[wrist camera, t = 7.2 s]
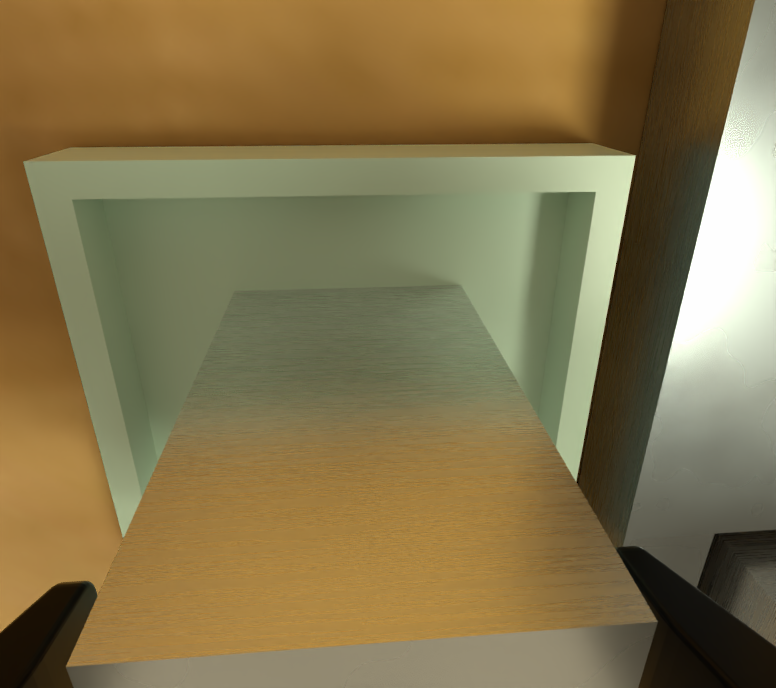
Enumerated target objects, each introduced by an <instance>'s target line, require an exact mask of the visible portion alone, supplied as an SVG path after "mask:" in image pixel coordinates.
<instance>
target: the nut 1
mask: <svg viewBox="0 0 776 688" xmlns="http://www.w3.org/2000/svg"><path fill="white" fill-rule="evenodd" d="M657 623H658V621H657V620H656V618H655V616H654V614H653V613H652V611H651V609H650V608H649V606H648V604H647V602H646V601H645V599H644V597H643V596H642V594H641V592H640V590H639V589H638V587H637V585H636V584H635V582H634V580H633V578H632V577H631V575H630V573H629V572H628V570H627V568H626V567H625V565H624V563H623V561H622V560H621V558H620V556H619V555H618V553H617V551H616V549H615V548H614V546H613V544H612V543H611V541H610V539H609V537H608V536H607V534H606V532H605V531H604V529H603V527H602V525H601V524H600V522H599V520H598V519H597V517H596V515H595V513H594V512H593V510H592V508H591V507H590V505H589V503H588V501H587V500H586V498H585V496H584V495H583V493H582V491H581V489H580V488H579V486H578V484H577V483H576V481H575V479H574V478H573V476H572V474H571V472H570V471H569V469H568V467H567V466H566V464H565V462H564V460H563V459H562V457H561V455H560V454H559V452H558V450H557V448H556V447H555V445H554V443H553V442H552V440H551V438H550V436H549V435H548V433H547V431H546V430H545V428H544V426H543V424H542V423H541V421H540V419H539V418H538V416H537V414H536V412H535V411H534V409H533V407H532V406H531V404H530V402H529V400H528V399H527V397H526V395H525V394H524V392H523V390H522V388H521V387H520V385H519V383H518V382H517V380H516V378H515V377H514V375H513V373H512V371H511V370H510V368H509V366H508V365H507V363H506V361H505V359H504V358H503V356H502V354H501V353H500V351H499V349H498V347H497V346H496V344H495V342H494V341H493V339H492V337H491V335H490V334H489V332H488V330H487V329H486V327H485V325H484V323H483V322H482V320H481V318H480V317H479V315H478V313H477V311H476V310H475V308H474V306H473V305H472V303H471V301H470V299H469V298H468V296H467V294H466V293H465V291H464V289H463V288H462V286H461V285H437V286H402V287H368V288H333V289H298V290H263V291H234V293H233V295H232V298H231V300H230V302H229V304H228V307H227V309H226V311H225V313H224V315H223V318H222V320H221V322H220V324H219V327H218V329H217V331H216V333H215V336H214V338H213V340H212V342H211V344H210V347H209V349H208V351H207V353H206V356H205V358H204V360H203V362H202V364H201V367H200V369H199V371H198V373H197V376H196V378H195V380H194V382H193V385H192V387H191V389H190V391H189V393H188V396H187V398H186V400H185V402H184V405H183V407H182V409H181V411H180V414H179V416H178V418H177V420H176V422H175V425H174V427H173V429H172V431H171V434H170V436H169V438H168V440H167V443H166V445H165V447H164V449H163V451H162V454H161V456H160V458H159V460H158V463H157V465H156V467H155V469H154V471H153V474H152V476H151V478H150V480H149V483H148V485H147V487H146V489H145V492H144V494H143V496H142V498H141V500H140V503H139V505H138V507H137V509H136V512H135V514H134V516H133V518H132V521H131V523H130V525H129V527H128V529H127V532H126V534H125V536H124V538H123V541H122V543H121V545H120V547H119V550H118V552H117V554H116V556H115V558H114V561H113V563H112V565H111V567H110V570H109V572H108V574H107V576H106V578H105V581H104V583H103V585H102V587H101V590H100V592H99V594H98V596H97V599H96V601H95V603H94V605H93V607H92V610H91V612H90V614H89V616H88V619H87V621H86V623H85V625H84V628H83V630H82V632H81V634H80V636H79V639H78V641H77V643H76V645H75V648H74V650H73V652H72V654H71V657H70V659H69V661H68V663H67V665H66V669H67V671H68V674H69V677H70V679H71V682H72V685H73V688H638V687H639V683H640V680H641V677H642V673H643V670H644V666H645V663H646V660H647V656H648V653H649V650H650V646H651V643H652V640H653V636H654V633H655V630H656V626H657Z"/></svg>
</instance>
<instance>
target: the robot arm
mask: <svg viewBox="0 0 776 688" xmlns="http://www.w3.org/2000/svg"><path fill="white" fill-rule="evenodd" d="M614 548H615V549H616V551H617V553H618V555H619V556H620V558H621V560H622V561H623V563H624V565H625V567H626V568H627V570H628V572H629V573H630V575H631V577H632V578H633V580H634V582H635V584H636V585H637V587H638V589H639V590H640V592H641V594H642V596H643V597H644V599H645V601H646V602H647V604H648V606H649V608H650V609H651V611H652V613H653V614H654V616H655V618H656V620H657V621H658V623H657V626H656V630H655V633H654V636H653V640H652V643H651V646H650V650H649V653H648V656H647V660H646V663H645V666H644V670H643V673H642V677H641V680H640V683H639V687H638V688H776V646H774V645H773V644H772V643H770V642H769V641H768V640H766V639H765V638H764V637H762V636H761V635H760V634H758V633H757V632H756V631H754V630H753V629H752V628H750V627H749V626H747V625H746V624H745V623H743V622H742V621H741V620H739V619H738V618H737V617H735V616H734V615H733V614H731V613H730V612H729V611H727V610H726V609H725V608H723V607H722V606H720V605H719V604H718V603H716V602H715V601H714V600H712V599H711V598H710V597H708V596H707V595H706V594H704V593H703V592H702V591H700V590H699V589H698V588H696V587H695V586H693V585H692V584H691V583H689V582H688V581H687V580H685V579H684V578H683V577H681V576H680V575H679V574H677V573H676V572H675V571H673V570H672V569H671V568H669V567H668V566H666V565H665V564H664V563H662V562H661V561H660V560H658V559H657V558H656V557H654V556H653V555H652V554H650V553H649V552H648V551H646V550H645V549H643V548H641V547H638V546H625V547H614ZM96 599H97V592H96V589H95V587H94V585H93V584H92V583H91V582H89V581H77V582H63V583H59V584H57V585H55V586H53V587H52V588H51V589H49V590H48V591H47V592H46V593H45V594H44V595H43V596H41V597H40V598H39V599H38V600H37V601H36V602H35V603H33V604H32V605H31V606H30V607H29V608H28V609H27V610H25V611H24V612H23V613H22V614H21V615H20V616H19V617H17V618H16V619H15V620H14V621H13V622H12V623H11V624H9V625H8V626H7V627H6V628H5V629H4V630H3V631H1V632H0V688H73V685H72V682H71V679H70V677H69V674H68V671H67V669H66V665H67V663H68V661H69V659H70V657H71V654H72V652H73V650H74V648H75V645H76V643H77V641H78V639H79V636H80V634H81V632H82V630H83V628H84V625H85V623H86V621H87V619H88V616H89V614H90V612H91V610H92V607H93V605H94V603H95V601H96Z"/></svg>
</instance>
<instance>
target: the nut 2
mask: <svg viewBox="0 0 776 688" xmlns="http://www.w3.org/2000/svg"><path fill="white" fill-rule="evenodd" d="M697 588H698V589H699V590H700V591H702V592H703V593H704V594H706V595H707V596H708V597H710V598H711V599H712V600H714V601H715V602H716V603H718V604H719V605H720V606H722V607H723V608H725V609H726V610H727V611H729V612H730V613H731V614H733V615H734V616H735V617H737V618H738V619H739V620H741V621H742V622H743V623H745V624H746V625H747V626H749V627H750V628H752V629H753V630H754V631H756V632H757V633H758V634H760V635H761V636H762V637H764V638H765V639H766V640H768V641H769V642H770V643H772V644H773V645H774V646H776V530H764V531H748V532H732V533H716V534H714V537H713V540H712V543H711V546H710V549H709V552H708V555H707V558H706V561H705V564H704V567H703V570H702V573H701V576H700V579H699V582H698V585H697Z"/></svg>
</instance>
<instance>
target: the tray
mask: <svg viewBox="0 0 776 688" xmlns="http://www.w3.org/2000/svg"><path fill="white" fill-rule="evenodd" d="M635 157H636V155H632V154H629V153H625V152H622V151H619V150H615V149H612V148H608V147H605V146H601V145H598V144H594V143H545V144H422V145H299V146H176V147H70V148H67V149H63V150H60V151H57V152H53V153H50V154H47V155H43V156H40V157H37V158H33V159H30V160H27V161H23V163H24V167H25V170H26V174H27V178H28V182H29V186H30V189H31V193H32V197H33V201H34V204H35V208H36V212H37V216H38V219H39V223H40V227H41V231H42V235H43V238H44V242H45V246H46V250H47V253H48V257H49V261H50V265H51V268H52V272H53V276H54V280H55V284H56V287H57V291H58V295H59V299H60V302H61V306H62V310H63V314H64V318H65V321H66V325H67V329H68V333H69V336H70V340H71V344H72V348H73V351H74V355H75V359H76V363H77V367H78V370H79V374H80V378H81V382H82V385H83V389H84V393H85V397H86V400H87V404H88V408H89V412H90V416H91V419H92V423H93V427H94V431H95V434H96V438H97V442H98V446H99V450H100V453H101V457H102V461H103V465H104V468H105V472H106V476H107V480H108V483H109V487H110V491H111V495H112V499H113V502H114V506H115V510H116V514H117V517H118V521H119V525H120V529H121V532H122V536H123V538H124V536H125V534H126V532H127V529H128V527H129V525H130V523H131V521H132V518H133V516H134V514H135V512H136V509H137V507H138V505H139V503H140V500H141V498H142V496H143V494H144V492H145V489H146V487H147V485H148V483H149V480H150V478H151V476H152V474H153V471H154V469H155V467H156V465H157V463H158V460H159V458H160V456H161V454H162V451H163V449H164V447H165V445H166V443H167V440H168V438H169V436H170V434H171V431H172V429H173V427H174V425H175V422H176V420H177V418H178V416H179V414H180V411H181V409H182V407H183V405H184V402H185V400H186V398H187V396H188V393H189V391H190V389H191V387H192V385H193V382H194V380H195V378H196V376H197V373H198V371H199V369H200V367H201V364H202V362H203V360H204V358H205V356H206V353H207V351H208V349H209V347H210V344H211V342H212V340H213V338H214V336H215V333H216V331H217V329H218V327H219V324H220V322H221V320H222V318H223V315H224V313H225V311H226V309H227V307H228V304H229V302H230V300H231V298H232V295H233V293H234V291H263V290H298V289H333V288H368V287H402V286H437V285H461V286H462V288H463V289H464V291H465V293H466V294H467V296H468V298H469V299H470V301H471V303H472V305H473V306H474V308H475V310H476V311H477V313H478V315H479V317H480V318H481V320H482V322H483V323H484V325H485V327H486V329H487V330H488V332H489V334H490V335H491V337H492V339H493V341H494V342H495V344H496V346H497V347H498V349H499V351H500V353H501V354H502V356H503V358H504V359H505V361H506V363H507V365H508V366H509V368H510V370H511V371H512V373H513V375H514V377H515V378H516V380H517V382H518V383H519V385H520V387H521V388H522V390H523V392H524V394H525V395H526V397H527V399H528V400H529V402H530V404H531V406H532V407H533V409H534V411H535V412H536V414H537V416H538V418H539V419H540V421H541V423H542V424H543V426H544V428H545V430H546V431H547V433H548V435H549V436H550V438H551V440H552V442H553V443H554V445H555V447H556V448H557V450H558V452H559V454H560V455H561V457H562V459H563V460H564V462H565V464H566V466H567V467H568V469H569V471H570V472H571V474H572V476H573V478H574V479H575V481H577V475H578V470H579V464H580V459H581V453H582V448H583V442H584V437H585V431H586V426H587V420H588V415H589V409H590V404H591V398H592V393H593V387H594V382H595V377H596V371H597V366H598V360H599V355H600V349H601V344H602V338H603V333H604V327H605V322H606V316H607V311H608V305H609V300H610V294H611V289H612V283H613V278H614V272H615V267H616V261H617V256H618V250H619V245H620V239H621V234H622V229H623V223H624V218H625V212H626V207H627V201H628V196H629V190H630V185H631V179H632V174H633V168H634V163H635Z"/></svg>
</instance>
